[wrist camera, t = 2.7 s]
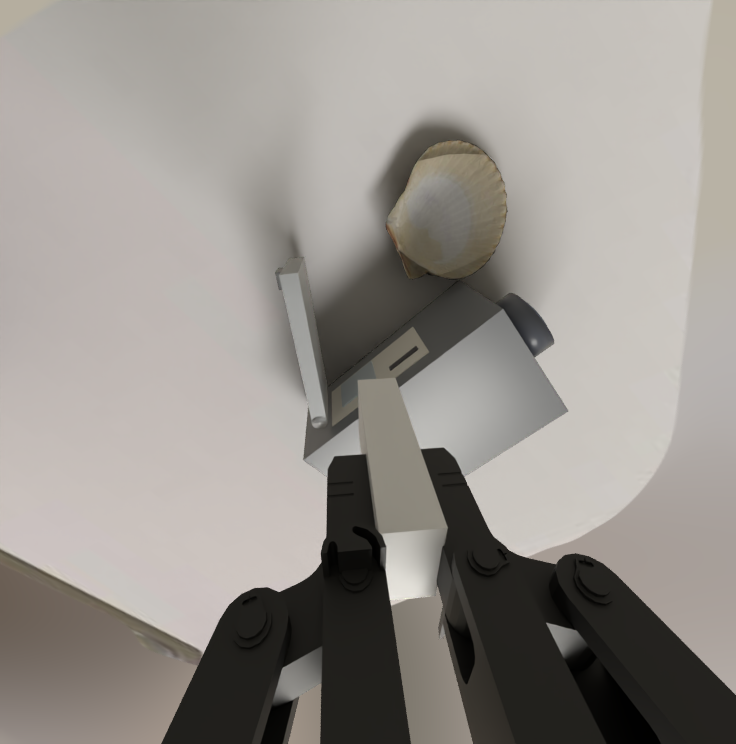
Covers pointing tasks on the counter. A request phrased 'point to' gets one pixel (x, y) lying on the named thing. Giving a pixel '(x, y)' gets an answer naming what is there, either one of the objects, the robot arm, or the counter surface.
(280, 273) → the side door
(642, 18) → the counter surface
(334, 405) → the camera body
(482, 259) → the seashell
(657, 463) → the counter surface
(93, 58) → the counter surface
